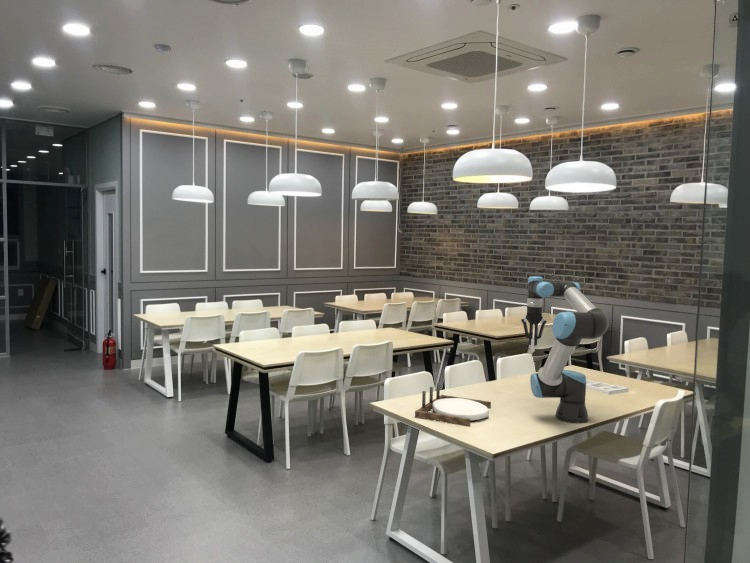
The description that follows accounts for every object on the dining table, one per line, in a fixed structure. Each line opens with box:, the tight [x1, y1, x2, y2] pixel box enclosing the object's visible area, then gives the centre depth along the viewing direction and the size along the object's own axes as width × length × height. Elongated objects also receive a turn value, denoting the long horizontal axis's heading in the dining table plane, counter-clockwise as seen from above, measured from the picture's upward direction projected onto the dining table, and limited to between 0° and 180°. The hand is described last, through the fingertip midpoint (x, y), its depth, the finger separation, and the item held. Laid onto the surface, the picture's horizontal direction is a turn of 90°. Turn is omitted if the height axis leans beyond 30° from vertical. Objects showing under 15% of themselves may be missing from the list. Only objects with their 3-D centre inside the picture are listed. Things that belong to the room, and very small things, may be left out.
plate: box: [432, 397, 490, 421], centre depth 286 cm, size 28×6×27 cm
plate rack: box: [414, 382, 492, 427], centre depth 289 cm, size 27×37×11 cm
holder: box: [586, 378, 629, 396], centre depth 357 cm, size 45×18×3 cm, turn 30°
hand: (532, 351), depth 301 cm, fingers closed
